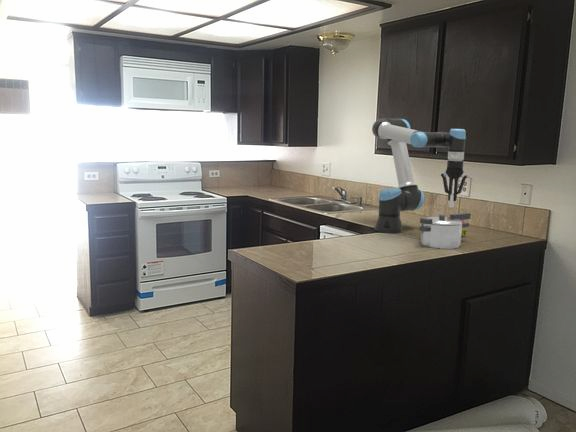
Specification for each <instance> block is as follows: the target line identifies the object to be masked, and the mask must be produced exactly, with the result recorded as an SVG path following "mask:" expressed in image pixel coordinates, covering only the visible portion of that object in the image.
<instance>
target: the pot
mask: <svg viewBox="0 0 576 432" xmlns="http://www.w3.org/2000/svg"><path fill="white" fill-rule="evenodd" d="M469 227H470V223H469V222H464V223H462V224H460V225H434V224H423V223H421V225H420V226H419V227H418V231H420V232H421V235H420V244H421V245H422V246H425V247H427V248H432V249H439V248H440V249H441V250H443V249H445V250H446V249H449V250H451V249H452V250H453V249H459V248H460V247H461V244H462V236H461V232H462V230H463V228H469Z"/></svg>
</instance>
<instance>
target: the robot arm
mask: <svg viewBox="0 0 576 432" xmlns="http://www.w3.org/2000/svg"><path fill="white" fill-rule="evenodd" d="M371 131H372V134H373V136H374V137H375V138H377V139H379V140H380V139H382V140H386V141H387V145H388V146H391V151H392V152H391V153H392V157H393V158H392V159H393V162H394V168H395V172H396V178H397V183H398V185H397V187H389V188H384V189H381V190H380V192H379V196H378V217H377V219H376V223H375V225H374V231H376V232H378V233H383V234H384V233H385V234H386V233H387V234H399V233H402V232H403V229H404V228H403V225H402V224H403V223H402V220H401V212H405V211H406V212H407V211H417V210H419V209H421V208H422V207H423V204H424V202H425V194H424V192H423V191H422V190H421V189H420V188H419V185H418V184H417V183H415V180H414V177H413V176H414V175H413V171H412V165H411V161H410V157H409V156H410V154H409V151H408V145H407V144H409V145H411V146H412V147H413V148H447V149H448V151H447V162H446V163H447V165H446V169H445V171H444V172H443V173H441V174H440V176H441V178H442V182H443V183H442V184H443V189H444V193H446V194H448V196H447V200H448V201H449V208H455V202H456V201H457V200H458V199H457V198H458V195H460V194H461V193H462V190H463V188H464V185H465V183H466V179H467V178H468V177H469V175H468V174H465V173H464V159H465V146H466V139H467V136H466V133H467V131H466V130H465V129H464V128H450V130H449V132H445V131H437V132H434V131H432V132H431V131H421V130H416V129H411V125H410V123H409V121H408V120H406V119H405V118H399V117H398V118H385V117H384V118H383V117H382V118H379V119H377V120H375V121H374V123H373V124H372V127H371ZM447 177H448V178H449V179H448V178H447ZM460 178H462V179H461V181H460V184H459V180H460ZM447 179H448V180H449V181H448V180H447Z"/></svg>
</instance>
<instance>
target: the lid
mask: <svg viewBox="0 0 576 432" xmlns="http://www.w3.org/2000/svg"><path fill="white" fill-rule="evenodd" d="M471 218H472V217H471V212H470V213H469V212H461V213H451V214H449V216H446V215H445V214H439V216H427V217H422V218H421V217H420V218H419V223H420V224H422V223H423V224H434V225H460V224H462V220H464V221H466V220H471Z"/></svg>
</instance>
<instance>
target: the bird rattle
mask: <svg viewBox="0 0 576 432" xmlns="http://www.w3.org/2000/svg"><path fill="white" fill-rule="evenodd" d="M462 223H465V220H462ZM467 233H468V230H467V229H466V228H465V229H462V232H461V237H462V236H463V235H464V236H466V235H467Z"/></svg>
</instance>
